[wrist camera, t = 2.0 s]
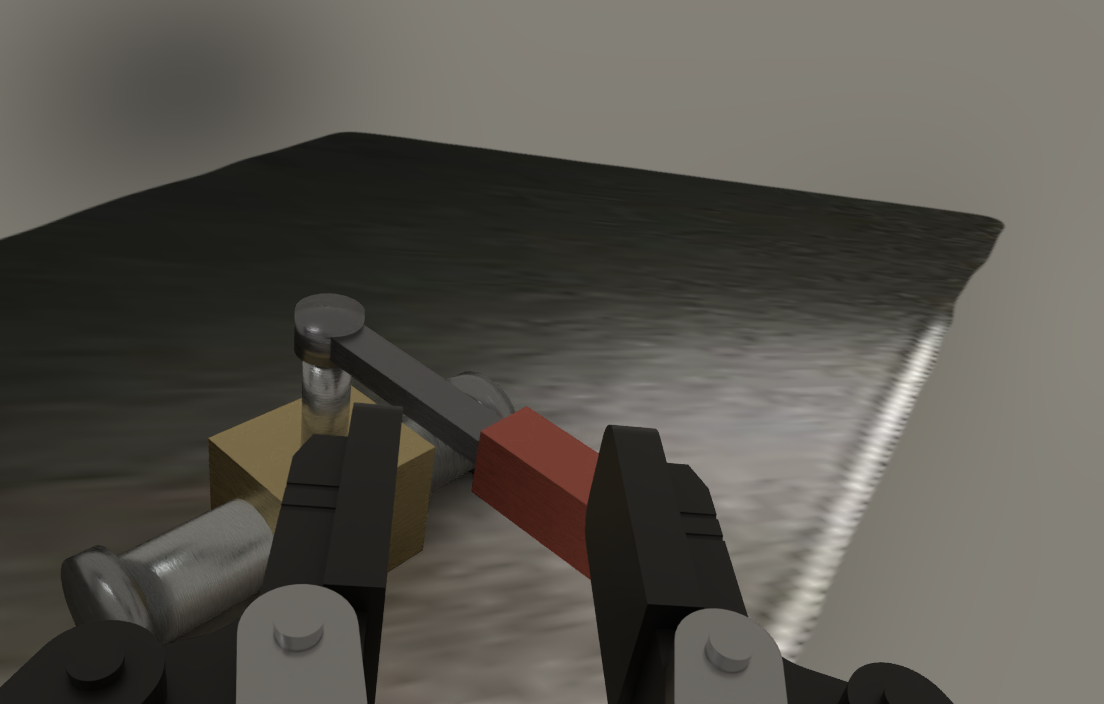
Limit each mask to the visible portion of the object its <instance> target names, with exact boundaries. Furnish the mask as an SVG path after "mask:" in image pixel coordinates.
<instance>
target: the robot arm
mask: <svg viewBox="0 0 1104 704" xmlns="http://www.w3.org/2000/svg"><path fill="white" fill-rule="evenodd" d="M402 414H403V406H392V405H380V404H369V403H357V402H354V404H353V409H352V415H351V421H350V427H349V433H348V437H346V436H334V435H322V434H313V435H312V436H311V437H310V438H309V439H308V440H307V441H306V442H305V443H304V444H303V445H302V446H301V448H300V449H299V450H298V451H297V452H296V453H295V454H294V455H293V457H292V461H291V466H290V470H289V474H288V478H287V483H286V487H285V491H284V495H283V499H282V503H281V509H280V512H279V516H278V520H277V524H276V529H275V533H274V537H273V541H272V545H271V550H270V554H269V558H268V562H267V566H266V571H265V575H264V579H263V583H262V587H261V590H260V593H259V595H258V597H257V599H256V600H255V601H253V602H252V603H251V604H250V605H249V607H248V608H247V609H246V610H245V612H244V613H243V615H242V616H241V617H240V618H239V619H238V620H236V621H235V622H233V623H232V624H230V625H228V626H226V627H225V628H223V629H221V630H218V631H216V632H213V633H210V634H207V635H203V636H200V637H195V638H191V639H186V640H181V641H176V642H172V643H167V644H162V645H161V643H160V641H159V640H158V639H157V638H156V636H155V635H154V634H153V633H151V632H150V631H149V630H148V629H146V628H144V627H142V626H140V625H137V624H134V623H131V622H127V621H121V620H103V621H95V622H90V623H85V624H82V625H79V626H76V627H74V628H72V629H69V630H67V631H65V632H63V633H61V634H60V635H58V636H57V637H55V638H53V639H52V640H51V641H50V642H48V643H47V644H46V645H45V646H44V647H43V648H42V649H40V650H39V651H38V652H37V653H36V654H35V655H34V656H33V657H32V658H31V659H30V660H29V661H28V662H27V663H26V664H25V665H24V666H22V667H21V668H20V669H19V670H18V671H17V672H16V673H15V674H14V675H13V676H12V677H11V678H10V679H9V680H8V681H7V682H5V683H4V684H3V685H2V686H1V687H0V704H375V694H376V684H377V674H378V663H379V653H380V643H381V632H382V622H383V612H384V601H385V591H386V581H387V570H388V560H389V550H390V539H391V529H392V518H393V508H394V497H395V487H396V477H397V466H398V456H399V445H400V435H401V425H402ZM716 515H717V514H716V511H715V508H714V505H713V501H712V498H711V495H710V492H709V489H708V487H707V486H706V485H705V484H704V483H703V481H702V480H701V479H700V478H699V477H698V476H697V474H696V473H695V472H694V471H693V470H692V469H691V467H690V466H689V465H686V464H674V463H667V462H666V458H665V454H664V450H663V446H662V443H661V439H660V435H659V432H658V430H657V429H653V428H642V427H630V426H619V425H608V426H607V427H606V429H605V432H604V435H603V439H602V443H601V447H600V451H599V456H598V460H597V464H596V468H595V472H594V477H593V481H592V485H591V489H590V493H589V498H588V502H587V509H586V518H585V541H586V549H587V556H588V563H589V571H590V578H591V585H592V592H593V599H594V607H595V614H596V621H597V628H598V635H599V642H600V650H601V657H602V664H603V671H604V678H605V685H606V693H607V700H608V704H953V703H952V701H951V700H950V699H949V698H948V697H947V696H946V695H945V694H944V693H943V692H942V691H941V690H940V689H939V688H938V687H937V686H936V685H935V684H933V683H932V682H931V681H930V680H928V679H927V678H925V677H924V676H922V675H921V674H919V673H917V672H915V671H913V670H911V669H909V668H906V667H903V666H900V665H896V664H892V663H882V662H879V663H871V664H867V665H864V666H862V667H860V668H859V669H857V670H856V671H855V672H854V673H853V675H852V676H851V678H850V680H849V682H846V681H843V680H840V679H837V678H834V677H831V676H828V675H825V674H822V673H819V672H815V671H812V670H809V669H806V668H804V667H801V666H799V665H796V664H794V663H792V662H790V661H788V660H786V659H785V658H783V657H782V656H781V653H780V650H779V648H778V646H777V644H776V642H775V641H774V639H773V638H772V637H771V636H770V634H769V633H768V632H767V631H766V630H765V629H764V628H762V627H761V626H760V625H759V624H757V623H756V622H755V621H753V620H751V619H750V618H748V615H747V612H746V609H745V606H744V602H743V599H742V596H741V593H740V589H739V586H738V583H737V580H736V576H735V573H734V570H733V567H732V563H731V560H730V557H729V553H728V550H727V547H726V544H725V541H723V534H722V531H721V527H720V524H719V521H718V520H717V519H716Z"/></svg>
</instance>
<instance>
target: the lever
mask: <svg viewBox="0 0 1104 704" xmlns="http://www.w3.org/2000/svg"><path fill="white" fill-rule="evenodd" d="M364 318H365V311H364V308H363V306H362V305H361V304H360V303H359V302H357V301H356V300H354V299H352V298H349V297H347V296H343V295H338V294H317V295H312V296H309V297H306V298H304V299H302V300H301V301H299V302H298V303H297V305H296V307H295V328H294V351H295V354H296V355H297V356H298V358H300V359H301V360H302V361H304V362H306V363H308V364H310V365H314V366H318V367H324V368H336V367H340V368H341V369H342V370H344V371H345V372H347V373H348V374H349V375H351V376H352V377H354V378H355V379H356V380H358V381H359V382H360V383H362V384H363V385H365V386H366V387H367V388H369V389H370V390H372V391H373V392H374V393H376V394H377V395H378V396H380V397H381V398H383V399H384V400H385V401H387V402H388V403H390V404H391V405H392V406H403V414H405V415H406V416H408V417H409V418H410V419H412V420H413V421H414V422H416V423H417V424H419V425H420V426H421V427H423V428H424V429H426V430H427V431H428V432H430V433H431V434H432V435H434V436H435V437H437V438H438V439H439V440H441V441H442V442H444V443H445V444H446V445H448V446H449V447H450V448H452V449H453V450H455V451H456V452H457V453H459V454H460V455H462V456H463V457H464V458H466V459H467V460H468V461H470V462H471V463H473V464H474V465H475V471H474V478H473V484H472V491H471V492H473V493H474V494H475V495H477V496H478V497H479V498H481V499H482V500H484V501H485V502H486V503H488V504H489V505H490V506H492V507H493V508H494V509H496V510H497V511H498V512H500V513H501V514H502V515H504V516H505V517H506V518H508V519H509V520H510V521H512V522H513V523H514V524H516V525H517V526H519V527H520V528H521V529H523V530H524V531H525V532H527V533H528V534H529V535H531V536H532V537H533V538H535V539H536V540H537V541H539V542H540V543H541V544H543V545H544V546H545V547H547V548H548V549H549V550H551V551H552V552H554V553H555V554H556V555H558V556H559V557H560V558H562V559H563V560H564V561H566V562H567V563H568V564H570V565H571V566H572V567H574V568H575V569H576V570H578V571H579V572H580V573H582V574H583V575H585V576H586V577H587V578H589V579H590V580H591V578H590V571H589V563H588V556H587V549H586V541H585V518H586V509H587V502H588V498H589V493H590V489H591V485H592V481H593V477H594V472H595V468H596V464H597V460H598V456H599V453H597V452H596V451H594V450H592V449H591V448H589V447H588V446H586V445H585V444H583V443H582V442H580V441H579V440H577V439H576V438H574V437H573V436H571V435H570V434H568V433H567V432H565V431H564V430H562V429H560V428H559V427H557V426H556V425H554V424H553V423H551V422H550V421H548V420H547V419H545V418H544V417H542V416H541V415H539V414H538V413H536V412H535V411H533V410H532V409H530V408H529V407H527V406H526V407H524V408H522V409H521V410H519V411H517V412H515V413H513V414H511V415H510V416H508V417H506V418H504V419H502V418H501V417H499V416H498V415H496V414H495V413H494V412H492V411H491V410H489V409H488V408H486V407H485V406H483V405H482V404H480V403H479V402H477V401H476V400H474V399H473V398H471V397H470V396H468V395H467V394H465V393H464V392H462V391H461V390H459V389H458V388H457V387H455V386H454V385H452V384H451V383H449V382H448V381H446V380H445V379H443V378H442V377H440V376H439V375H437V374H436V373H434V372H433V371H431V370H430V369H428V368H427V367H425V366H424V365H423V364H421V363H420V362H418V361H417V360H415V359H414V358H412V357H411V356H409V355H408V354H406V353H405V352H403V351H402V350H400V349H399V348H397V347H396V346H394V345H393V344H391V343H390V342H389V341H387V340H386V339H384V338H383V337H381V336H380V335H378V334H377V333H375V332H374V331H372V330H371V329H369V328H368V327H366V326H365V325H364Z"/></svg>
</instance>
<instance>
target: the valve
mask: <svg viewBox="0 0 1104 704" xmlns="http://www.w3.org/2000/svg"><path fill="white" fill-rule="evenodd" d="M351 381H352V376H351V375H349V374H348V373H347V372H345V371H344V370H342V369H341V368H340V367H336V368H324V367H318V366H314V365H310V364H308V363H306V362H304V361H303V378H302V398H301V399H298V400H296V401H294V402H291V403H289V404H287V405H284V406H282V407H280V408H277V409H275V410H273V411H270V412H268V413H266V414H263V415H261V416H259V417H256V418H254V419H252V420H249V421H247V422H245V423H242V424H240V425H238V426H235V427H233V428H231V429H228V430H226V431H224V432H221V433H219V434H217V435H214V436H212V437H210V438H208V444H209V471H210V498H211V510H210V511H208V512H206V513H204V514H202V515H200V516H198V517H195V518H193V519H191V520H189V521H187V522H185V523H183V524H181V525H179V526H177V527H175V528H173V529H171V530H169V531H167V532H165V533H163V534H161V535H158V536H156V537H154V538H152V539H150V540H148V541H146V542H144V543H142V544H140V545H138V546H136V547H134V548H132V549H130V550H128V551H126V552H124V553H121V554H119V555H117V556H116V555H115V554H114V553H113V552H111V551H110V550H109V549H107V548H106V547H103V546H100V545H96V546H93V547H91V548H89V549H87V550H84V551H82V552H80V553H78V554H76V555H74V556H72V557H70V558H68V559H66V560H64V562H63V564H62V567H61V581H62V587H63V591H64V595H65V599H66V602H67V605H68V608H69V610H70V613H71V615H72V618H73V620H74V622H75V625H76V626H79V625H82V624H85V623H90V622H95V621H103V620H121V621H127V622H131V623H134V624H137V625H140V626H142V627H144V628H146V629H148V630H149V631H150V632H151V633H153V634H154V635H155V636H156V638H157V639H158V640H159V641H160V643H161V645H162V644H167V643H170V642H172V641H173V640H175V639H177V638H179V637H180V636H182V635H184V634H186V633H187V632H189V631H191V630H193V629H194V628H196V627H198V626H200V625H201V624H203V623H205V622H207V621H208V620H210V619H212V618H213V617H215V616H217V615H219V614H220V613H222V612H224V611H226V610H227V609H229V608H231V607H233V606H234V605H236V604H238V603H240V602H241V601H243V600H245V599H247V598H248V597H250V596H252V595H254V594H255V593H257V592H259V591H260V590H261V587H262V583H263V579H264V575H265V571H266V566H267V562H268V558H269V554H270V550H271V545H272V541H273V537H274V533H275V529H276V524H277V520H278V516H279V512H280V509H281V503H282V499H283V495H284V491H285V487H286V483H287V478H288V474H289V470H290V466H291V461H292V457H293V455H294V454H295V453H296V452H297V451H298V450H299V449H300V448H301V446H302V445H303V444H304V443H305V442H306V441H307V440H308V439H309V438H310V437H311V436H312V435H313V434H322V435H334V436H346V437H348V433H349V427H350V421H351V415H352V409H353V404H354V402H357V403H369V404H376V403H375V402H373V401H372V400H370V399H369V398H368V397H366V396H365V395H364V394H362V393H361V392H359V391H358V390H357V389H355V388H354V387H353V386H351ZM446 381H448V382H449V383H451V384H452V385H454V386H455V387H457V388H458V389H459V390H461V391H462V392H464V393H465V394H467V395H468V396H470V397H471V398H473V399H474V400H476V401H477V402H479V403H480V404H482V405H483V406H485V407H486V408H488V409H489V410H491V411H492V412H494V413H495V414H496V415H498V416H499V417H501V418H502V419H504V418H506V417H508V416H510V415H511V414H513V413H515V410H514V407H513V405H512V404H511V402H510V400H509V398H508V397H507V395H506V394H505V393H504V391H503V390H502V389H501V388H500V387H499V386H498V385H497V384H496V383H495V382H494V381H493V380H491V379H490V378H488V377H487V376H485V375H483V374H480V373H477V372H471V371H468V372H463V373H460V374H458V375H456V376H454V377H452V378H450V379H447V380H446ZM468 471H469V472H471V473H474V471H475V465H474V464H473V463H471V462H470V461H468V460H467V459H466V458H464V457H463V456H462V455H460V454H459V453H457V452H456V451H455V450H453V449H452V448H450V447H449V446H448V445H446V444H445V443H444V442H442V441H441V440H439V439H438V438H437V437H435V436H434V435H432V434H431V433H430V432H428V431H427V430H426V429H424V428H423V427H421V426H420V425H419V424H417V423H416V422H414V421H413V420H412V419H410V418H409V417H408V416H406V415H405V416H403V417H402V425H401V435H400V445H399V456H398V466H397V477H396V487H395V497H394V508H393V518H392V529H391V539H390V550H389V560H388V570H387V572H388V571H390V570H391V569H393V568H395V567H396V566H398V565H399V564H401V563H403V562H404V561H406V560H407V559H409V558H411V557H412V556H414V555H415V554H417V553H419V552H420V551H422V550H423V544H424V536H425V527H426V519H427V511H428V503H429V495H430V493H431V492H433V491H435V490H437V489H438V488H440V487H442V486H444V485H445V484H447V483H449V482H451V481H452V480H454V479H456V478H458V477H459V476H461V475H463V474H465V473H466V472H468Z"/></svg>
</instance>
